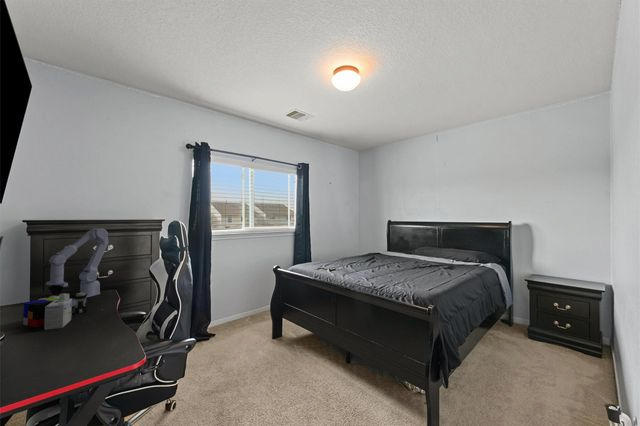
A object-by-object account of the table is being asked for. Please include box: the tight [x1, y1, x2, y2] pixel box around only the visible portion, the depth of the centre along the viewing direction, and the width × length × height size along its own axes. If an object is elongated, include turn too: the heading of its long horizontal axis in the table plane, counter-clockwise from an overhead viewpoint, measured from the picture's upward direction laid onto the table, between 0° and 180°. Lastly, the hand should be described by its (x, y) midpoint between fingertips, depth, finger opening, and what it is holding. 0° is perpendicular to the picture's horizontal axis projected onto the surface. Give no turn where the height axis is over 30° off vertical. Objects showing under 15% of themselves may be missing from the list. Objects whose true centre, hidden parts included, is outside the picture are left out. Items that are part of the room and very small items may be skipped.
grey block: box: [59, 292, 70, 299], centre depth 160 cm, size 3×4×4 cm, turn 77°
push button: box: [71, 292, 87, 314], centre depth 144 cm, size 7×5×10 cm
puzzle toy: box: [22, 297, 62, 328], centre depth 130 cm, size 10×10×10 cm
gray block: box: [48, 295, 60, 299], centre depth 155 cm, size 3×4×4 cm, turn 77°
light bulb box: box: [43, 298, 73, 331], centre depth 127 cm, size 11×7×11 cm, turn 27°
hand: (56, 297), depth 161 cm, fingers closed
